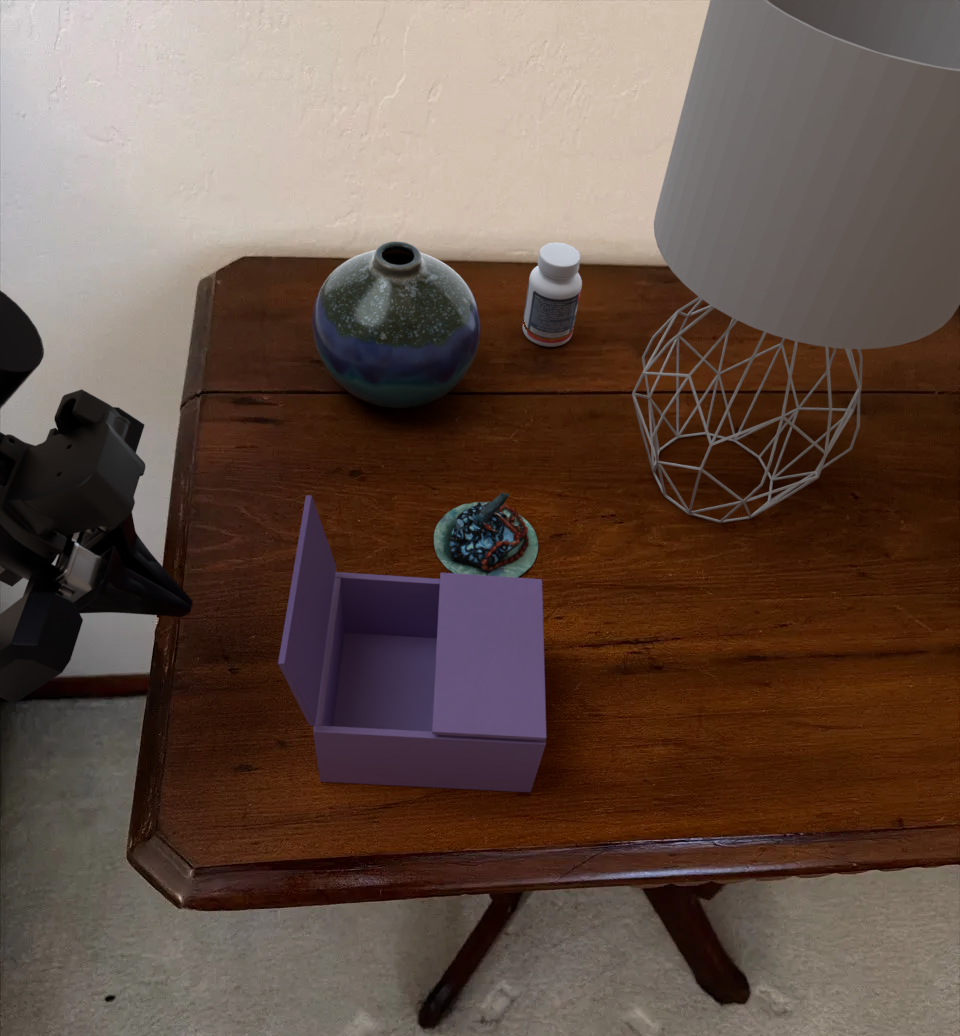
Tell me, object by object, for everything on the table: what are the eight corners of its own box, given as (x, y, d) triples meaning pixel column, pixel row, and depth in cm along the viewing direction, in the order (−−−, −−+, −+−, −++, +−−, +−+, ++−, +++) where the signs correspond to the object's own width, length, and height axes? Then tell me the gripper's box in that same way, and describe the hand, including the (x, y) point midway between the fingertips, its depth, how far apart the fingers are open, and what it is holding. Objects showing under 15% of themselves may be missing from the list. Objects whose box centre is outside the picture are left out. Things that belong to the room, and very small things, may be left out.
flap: (315, 725, 58) (309, 726, 58) (336, 566, 65) (331, 566, 65) (284, 663, 52) (277, 663, 52) (311, 494, 59) (305, 495, 59)
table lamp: (562, 406, 88) (668, -100, 55) (769, 383, 93) (981, -97, 60) (641, 587, 77) (834, 81, 44) (873, 550, 81) (1207, 68, 48)
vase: (316, 434, 83) (305, 310, 72) (316, 326, 92) (307, 200, 81) (482, 434, 85) (497, 312, 74) (467, 328, 94) (479, 205, 83)
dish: (441, 478, 78) (504, 479, 73) (495, 510, 83) (557, 513, 78) (413, 566, 77) (474, 573, 72) (469, 593, 82) (530, 601, 77)
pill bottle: (579, 345, 94) (595, 267, 86) (532, 351, 93) (544, 274, 85) (561, 313, 96) (575, 235, 89) (515, 319, 95) (525, 241, 88)
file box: (319, 781, 64) (312, 725, 57) (338, 630, 72) (334, 564, 65) (530, 792, 65) (547, 738, 58) (528, 642, 73) (543, 578, 66)
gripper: (-52, 550, 39) (242, 694, 49) (65, 285, 50) (288, 447, 59) (-152, 642, 45) (128, 753, 55) (-29, 388, 56) (188, 520, 65)
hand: (188, 609), depth 58 cm, fingers closed
